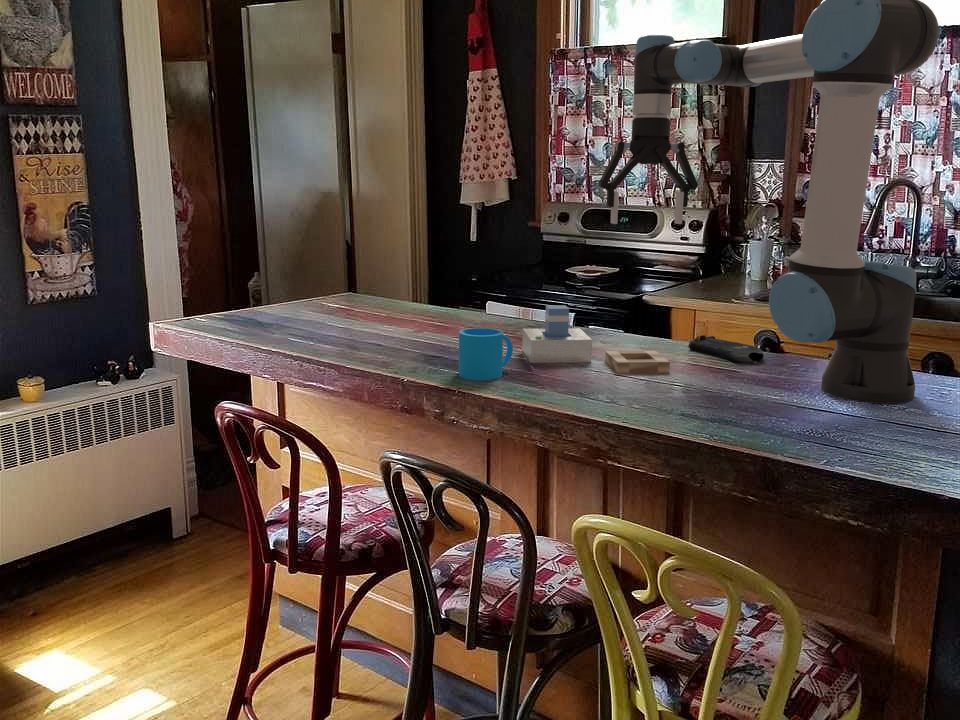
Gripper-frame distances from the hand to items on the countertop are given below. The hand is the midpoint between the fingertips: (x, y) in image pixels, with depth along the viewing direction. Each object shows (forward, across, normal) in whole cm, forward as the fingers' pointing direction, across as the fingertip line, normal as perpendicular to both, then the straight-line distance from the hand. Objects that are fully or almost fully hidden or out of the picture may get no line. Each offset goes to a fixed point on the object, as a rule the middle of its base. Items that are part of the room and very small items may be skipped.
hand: (646, 223), depth 189 cm
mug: (+27, +35, +19) cm, 48 cm away
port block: (+26, +20, +7) cm, 34 cm away
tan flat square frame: (+27, +6, +18) cm, 32 cm away
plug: (+26, +20, +7) cm, 33 cm away
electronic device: (+27, -17, +7) cm, 33 cm away
